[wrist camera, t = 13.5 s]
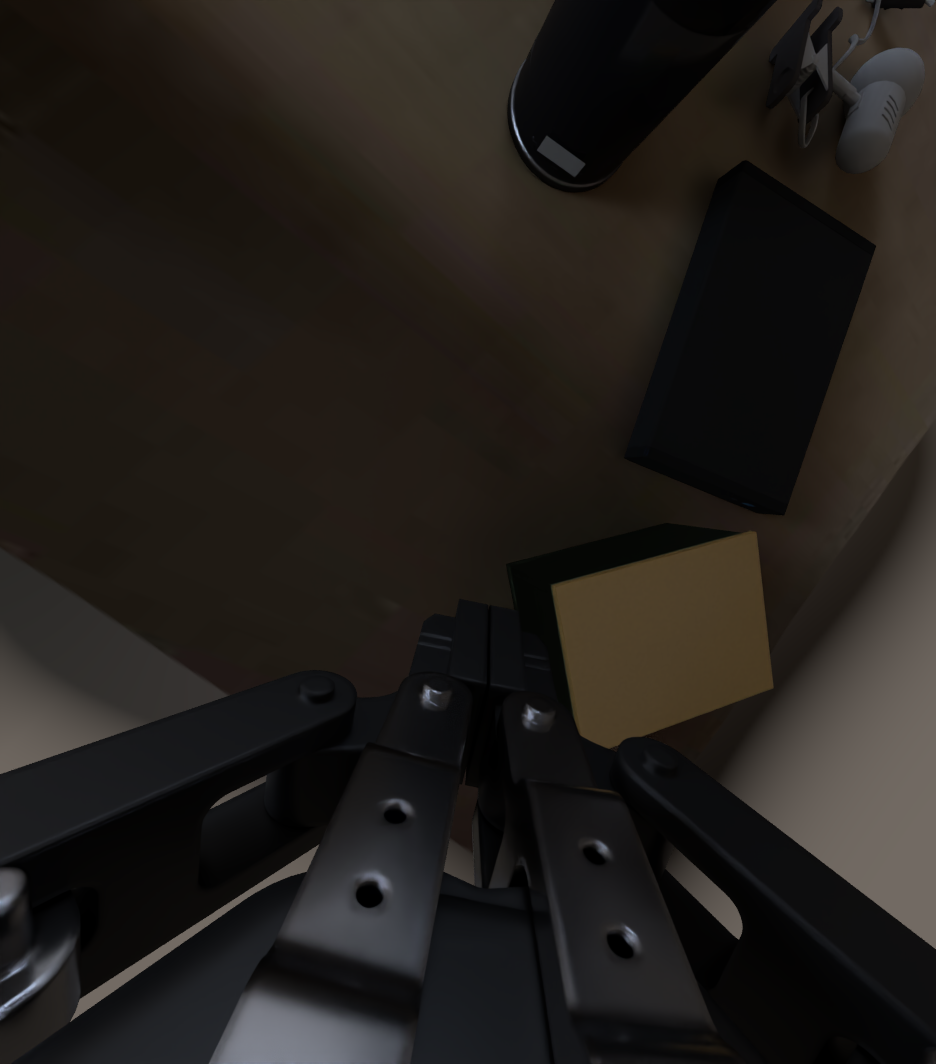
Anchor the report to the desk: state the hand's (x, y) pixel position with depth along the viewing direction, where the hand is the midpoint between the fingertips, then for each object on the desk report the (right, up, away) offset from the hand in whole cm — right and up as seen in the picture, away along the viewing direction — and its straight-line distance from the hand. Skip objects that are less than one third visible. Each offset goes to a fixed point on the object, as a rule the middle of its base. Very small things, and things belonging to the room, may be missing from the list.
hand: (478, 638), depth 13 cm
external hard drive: (+22, +17, +31) cm, 42 cm away
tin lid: (+13, -5, +22) cm, 26 cm away
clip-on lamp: (+30, +40, +31) cm, 59 cm away
